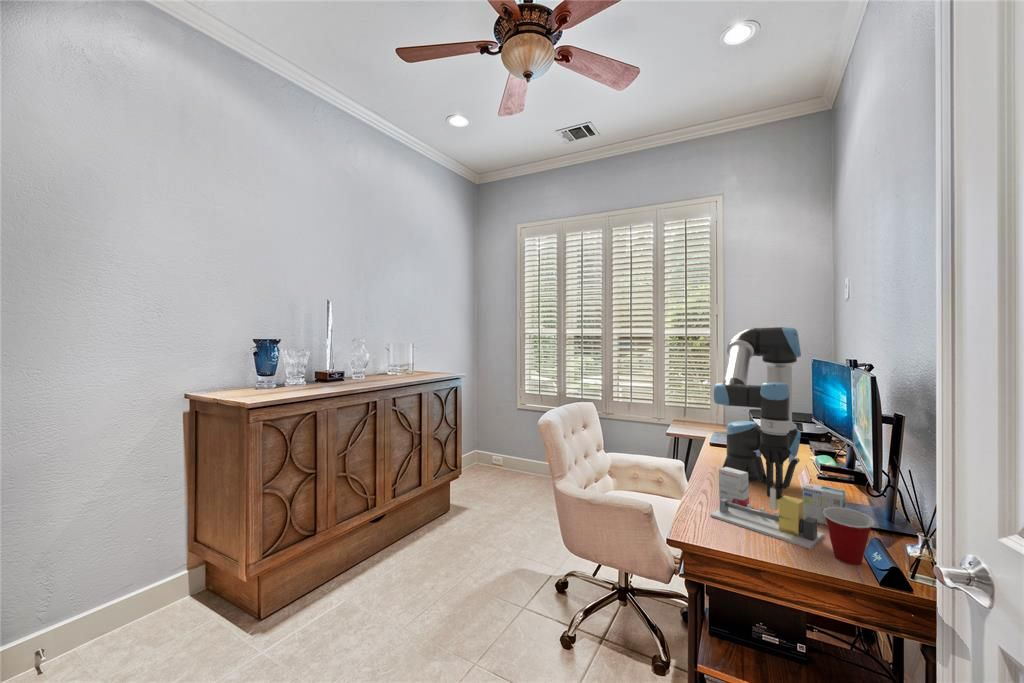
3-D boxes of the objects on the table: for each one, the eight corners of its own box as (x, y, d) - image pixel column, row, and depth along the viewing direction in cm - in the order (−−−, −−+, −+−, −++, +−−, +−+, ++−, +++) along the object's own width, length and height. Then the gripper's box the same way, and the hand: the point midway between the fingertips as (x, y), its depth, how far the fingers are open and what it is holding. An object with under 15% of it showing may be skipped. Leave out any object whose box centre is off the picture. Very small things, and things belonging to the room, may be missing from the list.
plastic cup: (823, 562, 109) (823, 516, 109) (821, 545, 118) (821, 503, 118) (877, 575, 103) (878, 527, 103) (871, 557, 112) (871, 512, 112)
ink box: (749, 505, 147) (749, 472, 147) (742, 508, 144) (742, 474, 144) (725, 497, 154) (725, 466, 154) (718, 500, 151) (718, 468, 151)
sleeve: (779, 529, 125) (779, 499, 125) (784, 525, 128) (784, 495, 128) (798, 535, 121) (798, 504, 121) (803, 530, 124) (803, 500, 124)
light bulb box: (846, 523, 133) (846, 489, 133) (843, 529, 128) (843, 495, 128) (805, 513, 140) (805, 481, 140) (801, 519, 135) (801, 486, 135)
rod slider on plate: (710, 516, 137) (710, 498, 137) (726, 507, 145) (726, 490, 145) (810, 549, 116) (810, 527, 116) (823, 536, 123) (823, 516, 123)
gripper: (747, 430, 131) (746, 505, 131) (795, 438, 121) (794, 518, 121) (756, 427, 135) (756, 499, 135) (803, 434, 125) (803, 512, 125)
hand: (774, 508), depth 128 cm, fingers closed
